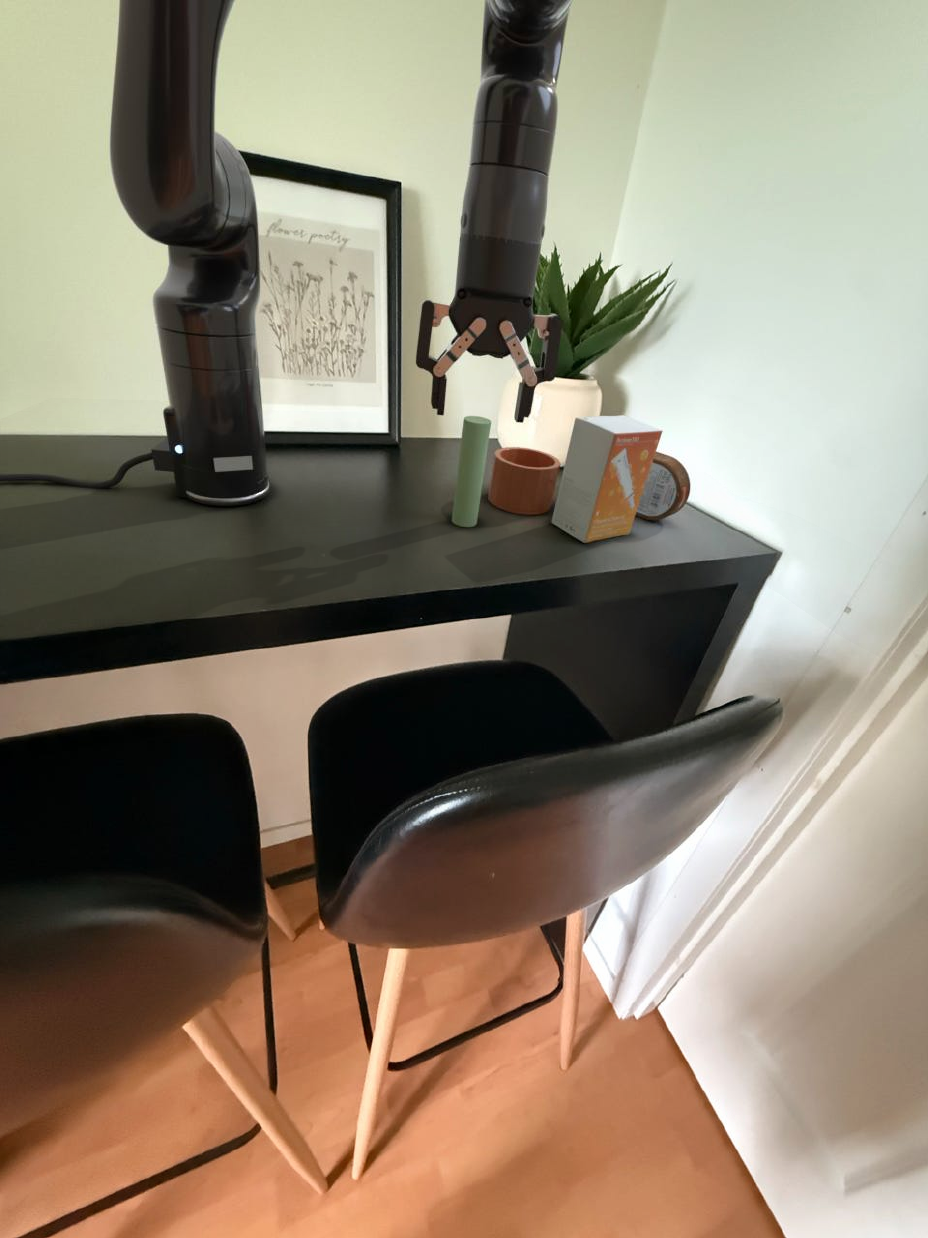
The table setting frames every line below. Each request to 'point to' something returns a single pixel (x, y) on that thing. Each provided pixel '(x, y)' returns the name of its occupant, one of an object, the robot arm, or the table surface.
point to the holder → (523, 480)
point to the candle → (470, 470)
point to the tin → (664, 488)
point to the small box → (604, 476)
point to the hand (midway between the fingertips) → (479, 417)
